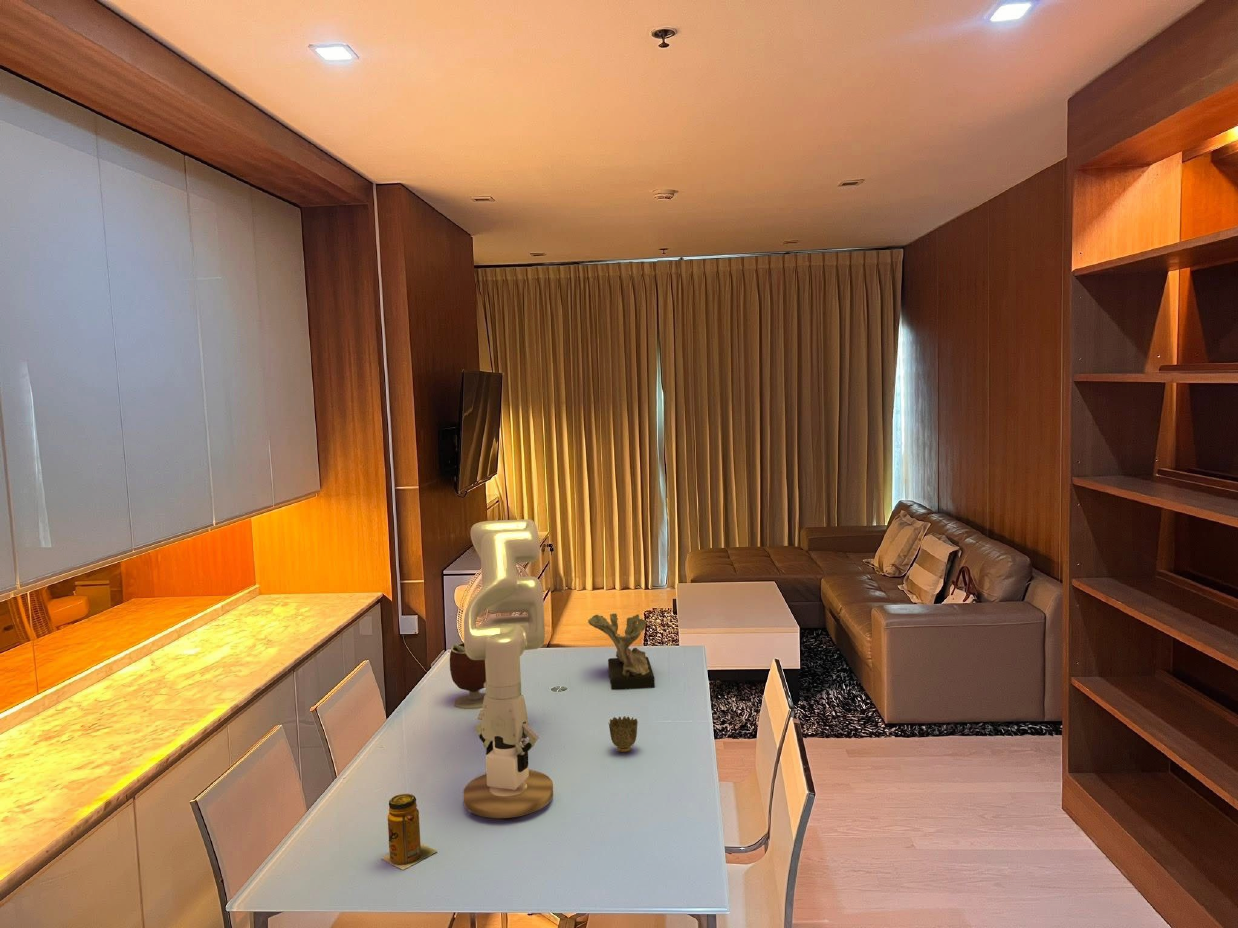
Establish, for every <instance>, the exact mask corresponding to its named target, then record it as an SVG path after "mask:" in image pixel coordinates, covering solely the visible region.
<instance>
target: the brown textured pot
mask: <svg viewBox="0 0 1238 928" xmlns="http://www.w3.org/2000/svg"><path fill="white" fill-rule="evenodd" d="M638 722H639V721H638V719H637V718H634V717H632V718H630V716H627V717H626V716H625V715H624V716H623V717H621V716H618V717H615V716H614V717H613V718H612V719H611V718H610V719H609V722H608V728H609V733H610V734H609V735H610V739H611V742H612V744H613V745H614V746H615V747H616V751H617V752H618V753H619V754H622V753H625V754H629V753H630V752H631V751H632V746H634V744H635V743H636V740H637V735H638V724H639V723H638ZM628 752H629V753H628Z"/></svg>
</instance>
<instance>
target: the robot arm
mask: <svg viewBox="0 0 1238 928" xmlns="http://www.w3.org/2000/svg"><path fill="white" fill-rule="evenodd" d="M470 539H471V542H472V545H473V548H474V549H475V551H476V553H477V555H478V556H479V559H480V560H481V561H480V562H481V563H480V564H481V570H480V571H481V588H480V589H479V591H477V593H476V594H475V595H474V596H473V597H472V598H471V600H470V601H469V603H468V605H467V608H466V610H465V614H464V618H463V619H464V620H463V642H464V647H465V652H466V654H467V656H468V657H469V658H470V659H472V660H485V671H486V682H485V683H484V688H483V689H486V690H485V691H486V695H485V696H484V701H483V708H481V709H480V710H479V712H478V715H477V720H479V721H481V722H479V723H478V724H476V726H475V727H474V730H475V732H476V733H477V734H478V735H479V736H478V737H479V740H480V741H481V742H482V743H483V744H482V745H483V748H485V752H486V753H485V754H486V755H487V754H489V753H490V752H491V751H492V750H493V741H495V740H494V737H495V736H500V737H502V738H503V743H505V744H509V745H515V746H516V748H517V750H518V752H519V754H518V755H517V761H518V772H522V771H523V770H525V769H526V768H527V767H528V768H529V751H531V750H532V748H533V747H534V745H535V744H536V742H538V739H539V735H538V734H537V733H536V732H535V731H534V730H533V729H532V728H531V727H529V718H528V711H527V705H526V701H525V697H524V695H523V694H522V681H521V679H522V678H521V677H522V675H521V672H522V671H521V658H520V657H521V656H522V655H523V653H524V651H532V650H538V649H541V648H542V647H543V646H544V643H545V639H546V628H545V626H546V625H545V623H546V622H545V607H544V606H545V605H544V604H545V602H544V591H543V586H542V583H541V580H539V579H538V578H537V577H536V576H531V575H530V576H529V575H528V576H517V564H522V563H525V564H526V563H533V562H534V563H535V562H536V561H537V560H538V558H539V557H540V550H541V545H540V536H539V532H538V527H537V525H536V522H535V521H534V520H532V519H525V518H524V519H523V518H522V519H507V520H504V519H503V520H502V519H500V520H485V521H479V522H477V523H475V524H473V525H472V527H470ZM485 610H487V611H488V612H490V613H493V614H510V613H512V614H513V613H521V612H522V613H526V614H521V615H520V614H519V615H502V616H494V617H490V618H487V619H486V620H484V621H483V622H482V624H481V626H477V624H476V623H477V620H478V617H479V616H480V615H481V614H482V613H483V612H484V611H485ZM527 738H528V740H527ZM522 746H523V747H522ZM486 755H485V756H486Z"/></svg>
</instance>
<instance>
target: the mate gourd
mask: <svg viewBox="0 0 1238 928" xmlns="http://www.w3.org/2000/svg"><path fill="white" fill-rule="evenodd" d="M449 671H450V675H451V680H452V681H453V683H454V684H455V685H456V686H457V687H458V688H459V689H460V690H463V691H469V693H467V694H464V695H461V696H458V697H457V698H455V700H454V702H453V704H454V706H455V707H456V708H458V709H461V710H478V709H482V708H483V701H484V696H485V695H486V694H487V693H485V692H482V693H481V692H480V691H481V690H483V689H485V688H484V683H485V682H486V671H485V660H472V659H470V658H469V657H468V656H467V654H466V652H465V647H464V641H463V642H461V643H457V644H454V645H452V646H451V647H450V654H449Z"/></svg>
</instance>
